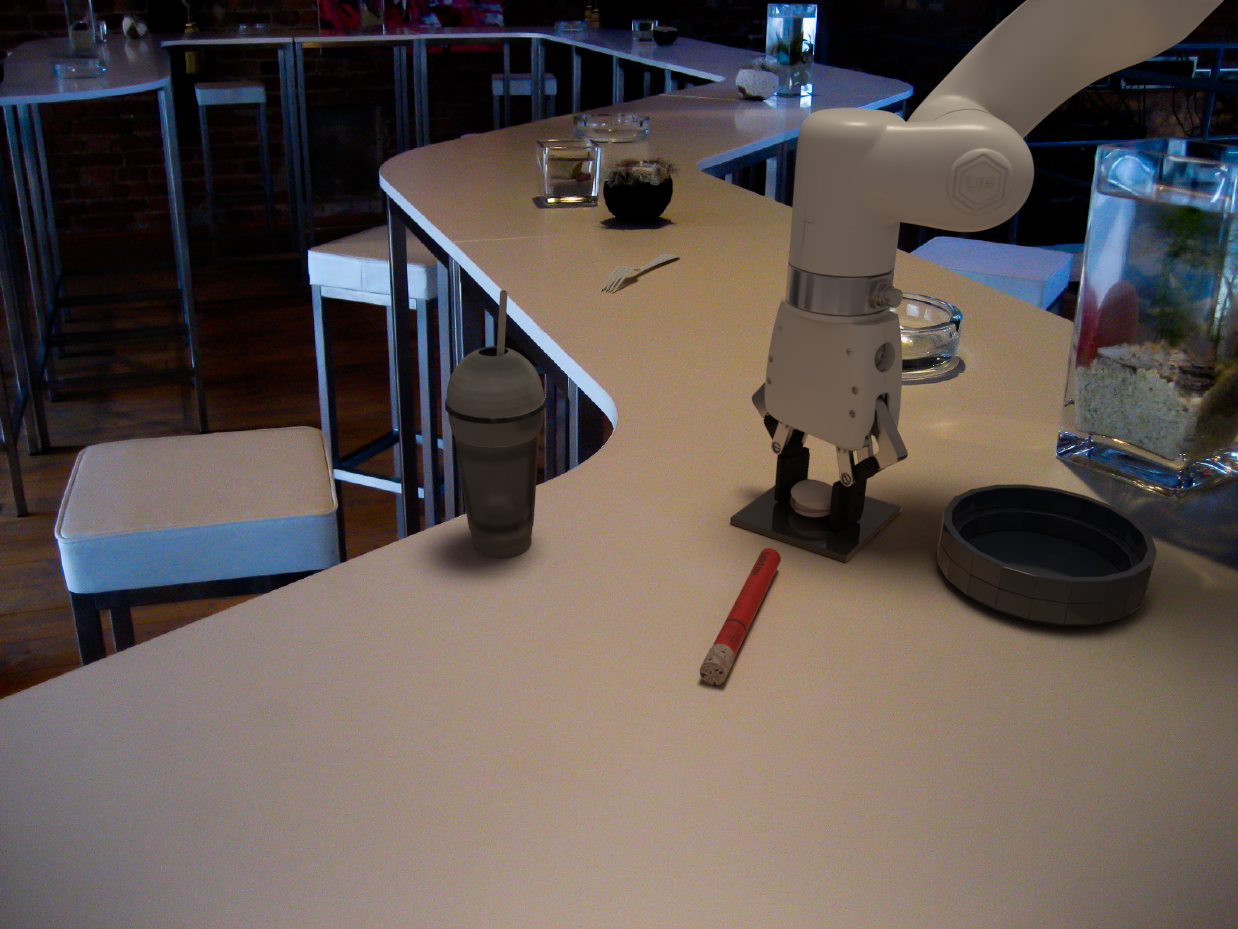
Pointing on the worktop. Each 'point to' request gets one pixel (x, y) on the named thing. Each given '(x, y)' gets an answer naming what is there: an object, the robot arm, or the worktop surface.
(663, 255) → the fork
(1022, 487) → the bowl
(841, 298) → the robot arm
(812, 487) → the clam shell
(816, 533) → the coaster
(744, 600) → the flare
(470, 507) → the beverage cup
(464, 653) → the worktop surface
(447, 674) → the worktop surface
